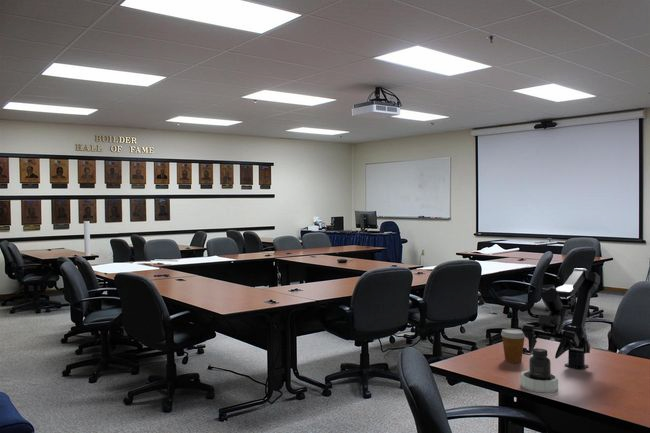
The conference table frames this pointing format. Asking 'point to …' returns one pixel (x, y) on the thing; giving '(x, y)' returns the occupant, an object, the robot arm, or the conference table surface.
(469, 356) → the conference table surface
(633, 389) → the conference table surface
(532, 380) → the ring stand
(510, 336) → the disposable coffee cup
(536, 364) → the supplement bottle
